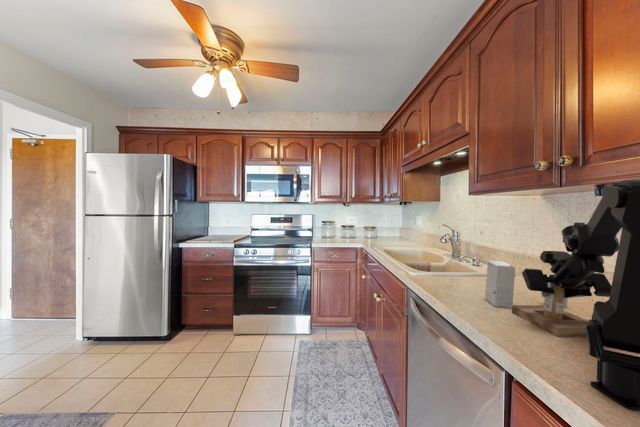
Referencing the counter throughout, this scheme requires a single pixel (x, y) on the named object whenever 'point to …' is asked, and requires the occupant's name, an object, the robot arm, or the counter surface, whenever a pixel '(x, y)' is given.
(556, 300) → the sprinkles bottle
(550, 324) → the brown wooden tray
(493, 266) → the skincare box
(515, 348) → the counter surface
